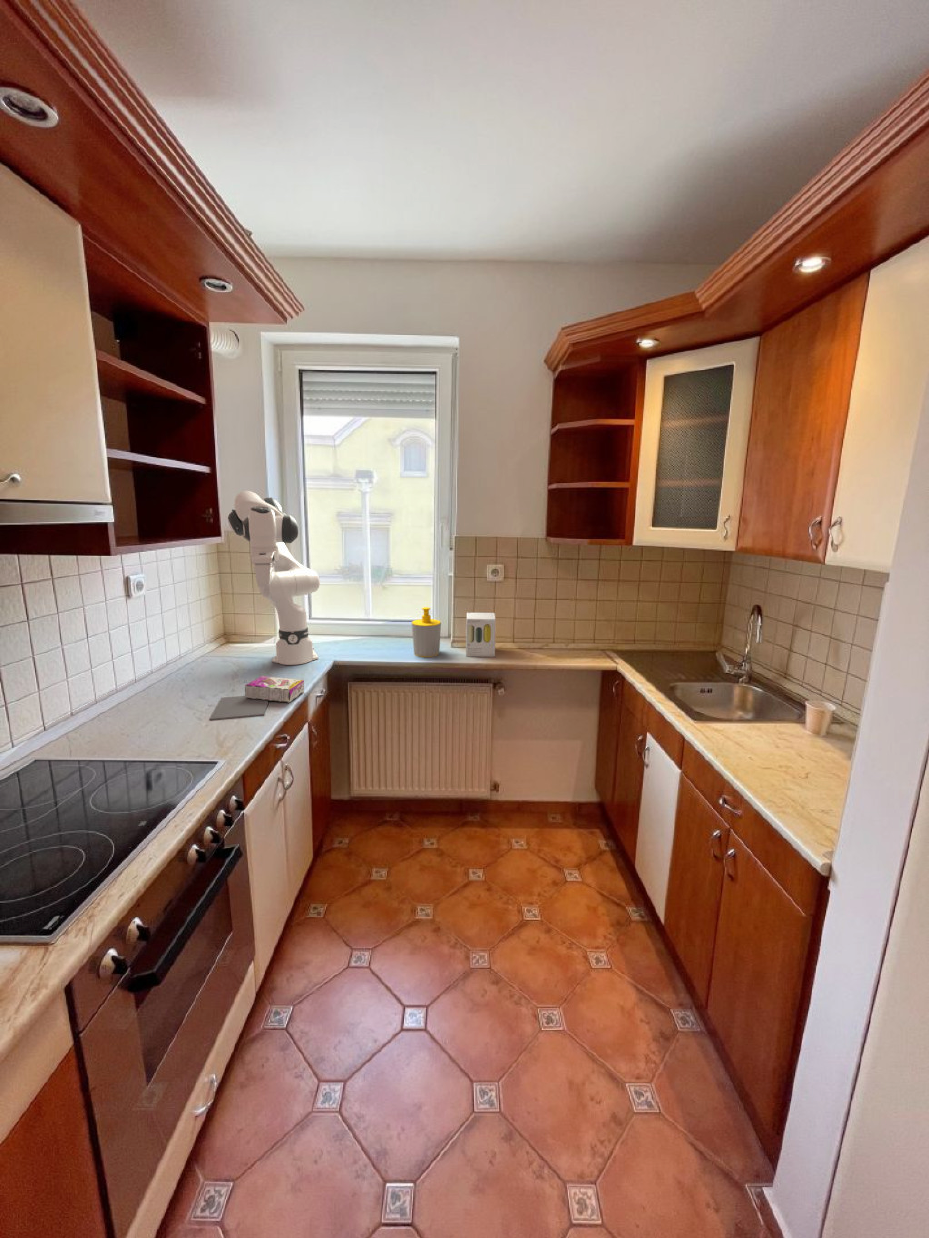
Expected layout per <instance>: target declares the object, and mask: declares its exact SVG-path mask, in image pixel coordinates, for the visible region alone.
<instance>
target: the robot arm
mask: <svg viewBox="0 0 929 1238" xmlns="http://www.w3.org/2000/svg"><path fill="white" fill-rule="evenodd" d="M227 519H228V520H227V522H228V526H229V528H230V529H231V531H232V532H233V533H235V535H237V536H239V537H240V536H242V537H243V538H244V539H245V540H246V541H248V542H249V543H250V545H249V548H250V560H251V563H252V564H253V566H254V572H255V573H254V574H255V578H256V579H255V580H256V584H257V586H258V587H257V588H258V591H259V593H260V594H261V596H262V597H263V598H265V599H267V600H268V601H269V602H271V603H272V605H273V606H274V608H275V609H276V612H277V617H278V624H279V625H278V626H279V629H278V638H279V639H278V640H277V642H275V652H276V655H275V656H274V658H272V660H271V661H272V663H277V664H280V665H287V666H291V665H292V666H295V665H302V664H306V663H309V662H312V661H315V660H318V659H319V655H318V654H317V653H316V651H315V650H314V649H315V648H314V647H313V640H312V639H311V638H309V628H308V625H307V624H308V623H307V612H306V610H305V608H304V607H302V606H301V605H299V604H296V603H294V599H293V597H300V596H308V595H310V594H313V593H315V592H318V591H319V589H320V585H321V580H320V577H319V574H318V573H317V572H316V571H315V570H313V569H310V568H308V567H306V566H304V565H303V564H301V563H300V562H299V561H297V560H296V559H295V558H294V557H293V555H292V554H291V552H290V551H289V549H288V547H287V546H286V544H291V543H293V542H294V541H295V540H297V538H298V535H299V525H298V523H297V522H298V521H296V519H295V517H293V516H291V514H289V515H288V514H286V513H285V512H283V510H282V506H281V505H280V503H279V502H278V501H277V500H275V498H273V497H266V498H265V497H264V498H263V499H262V498H261V496H259V495H258V494H257V493H255V492H253V491H251V490H243V491H240V492H239V493H238V494H237V495H236V496H235V499H234V509H231V512H230V513H229V514H228V517H227Z"/></svg>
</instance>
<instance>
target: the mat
mask: <svg viewBox="0 0 929 1238" xmlns="http://www.w3.org/2000/svg"><path fill="white" fill-rule="evenodd" d="M269 701H270V700H261V699H251V698H245V695H239V696H238V695H237V696H227V697H226V696H225V697H220V699H219V701H218V703H217V705H216V707H215V708H214V711H213V712H212V714H211V716H210V717H209V721H219V720H227V719H236V718H247V717H260V716H265V713H266V711H267V708H268V704H269Z"/></svg>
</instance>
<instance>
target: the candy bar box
mask: <svg viewBox="0 0 929 1238" xmlns="http://www.w3.org/2000/svg"><path fill="white" fill-rule="evenodd" d="M304 684H305V680H304V679H298V678H289V677H287V678H285V677H278V676H266V675H260V676H259V677H257V678H255V679H254V680H251V682H249V683H246V684H245V685H244V696H245V698H251V699H261V700H269V701H272V702H279V703H281V702H283V703H291V702H293V700H295V699H297V698H298V697H300V695H302V694H303V693H305V685H304Z"/></svg>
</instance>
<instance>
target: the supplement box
mask: <svg viewBox="0 0 929 1238" xmlns="http://www.w3.org/2000/svg"><path fill="white" fill-rule="evenodd" d="M465 620H466V623H465V657H483V658H485V657H488V658H489V657H496V614H495V612H466V619H465Z"/></svg>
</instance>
